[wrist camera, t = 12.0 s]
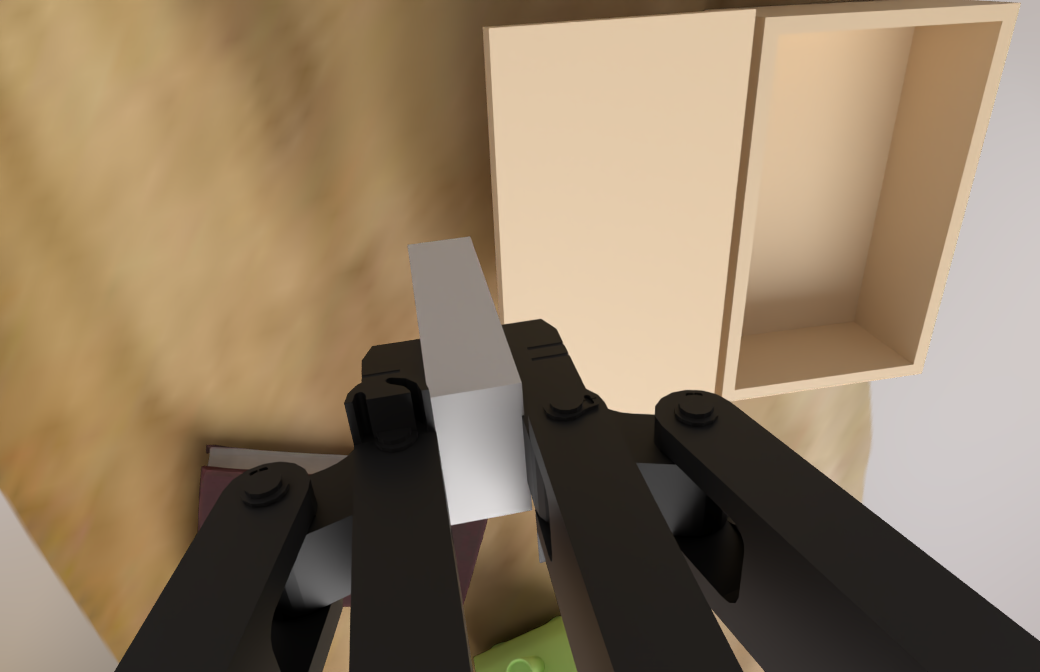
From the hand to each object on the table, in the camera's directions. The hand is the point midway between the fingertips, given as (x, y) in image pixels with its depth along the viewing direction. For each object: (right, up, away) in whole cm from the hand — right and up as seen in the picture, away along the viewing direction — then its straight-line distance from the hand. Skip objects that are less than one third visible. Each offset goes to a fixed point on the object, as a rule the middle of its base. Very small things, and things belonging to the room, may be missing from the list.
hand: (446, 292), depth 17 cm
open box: (+20, +9, +29) cm, 36 cm away
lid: (+7, +3, +20) cm, 21 cm away
